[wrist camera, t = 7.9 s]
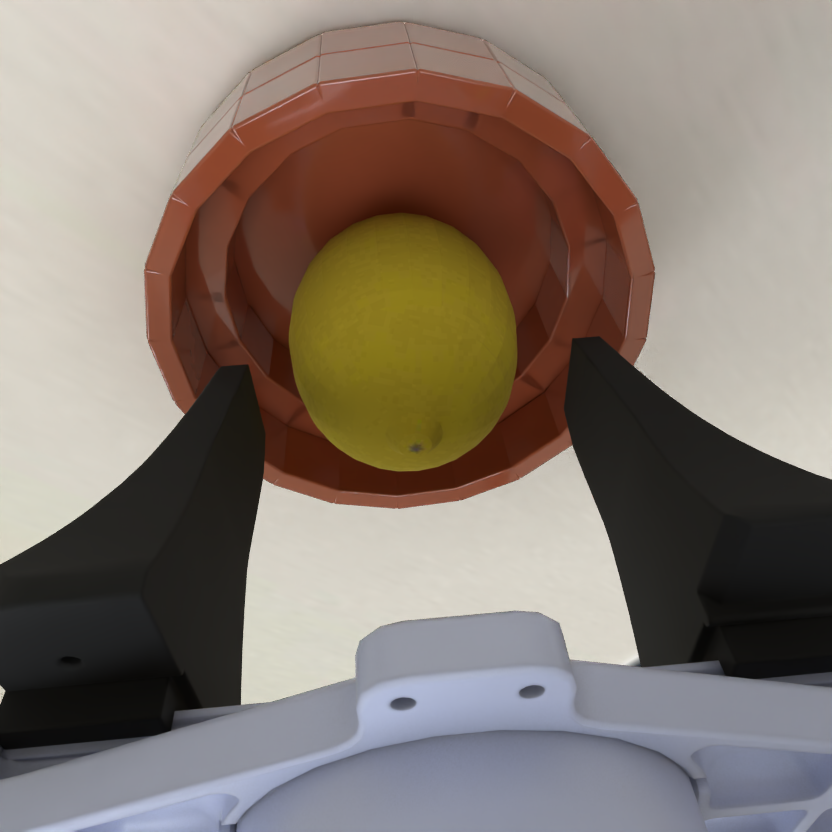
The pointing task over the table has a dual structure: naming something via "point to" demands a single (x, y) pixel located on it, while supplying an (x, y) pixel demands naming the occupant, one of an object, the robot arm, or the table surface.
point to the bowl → (387, 194)
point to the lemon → (403, 342)
